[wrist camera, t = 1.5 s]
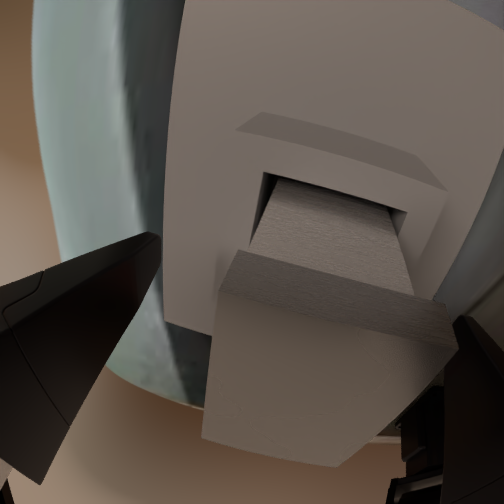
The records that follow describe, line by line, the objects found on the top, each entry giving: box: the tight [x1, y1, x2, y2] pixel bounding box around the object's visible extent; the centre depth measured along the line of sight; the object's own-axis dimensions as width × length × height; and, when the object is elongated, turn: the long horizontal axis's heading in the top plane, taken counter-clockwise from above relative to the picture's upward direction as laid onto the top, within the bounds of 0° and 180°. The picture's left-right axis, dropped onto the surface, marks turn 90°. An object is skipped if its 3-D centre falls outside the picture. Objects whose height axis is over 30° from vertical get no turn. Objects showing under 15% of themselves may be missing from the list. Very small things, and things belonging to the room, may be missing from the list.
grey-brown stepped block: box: [201, 176, 459, 468], centre depth 9 cm, size 4×5×9 cm
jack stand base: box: [163, 0, 504, 336], centre depth 12 cm, size 14×20×6 cm
